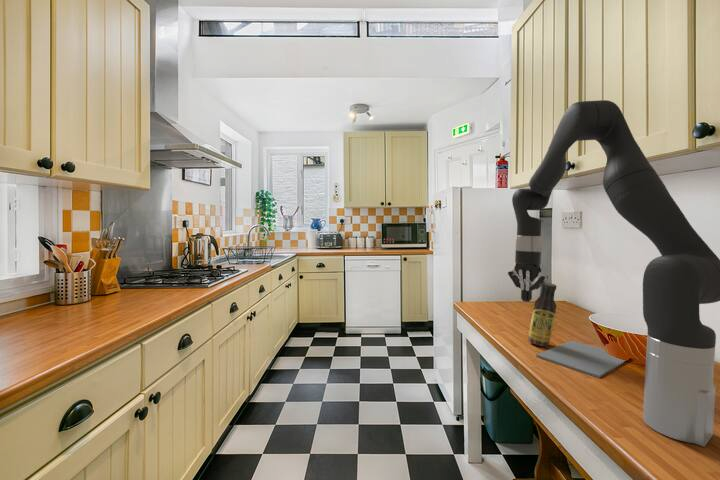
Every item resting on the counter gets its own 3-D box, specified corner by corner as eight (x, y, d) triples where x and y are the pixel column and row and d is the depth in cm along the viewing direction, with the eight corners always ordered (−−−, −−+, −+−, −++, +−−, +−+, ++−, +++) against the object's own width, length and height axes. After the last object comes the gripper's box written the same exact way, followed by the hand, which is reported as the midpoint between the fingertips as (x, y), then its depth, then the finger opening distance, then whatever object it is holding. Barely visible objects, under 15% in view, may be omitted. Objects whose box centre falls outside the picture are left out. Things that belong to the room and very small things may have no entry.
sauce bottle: (527, 344, 107) (535, 283, 104) (528, 337, 112) (536, 279, 110) (550, 349, 104) (560, 287, 101) (550, 342, 109) (559, 283, 107)
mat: (631, 358, 97) (631, 356, 97) (598, 377, 84) (599, 375, 84) (571, 342, 110) (571, 340, 110) (536, 356, 98) (536, 354, 98)
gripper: (503, 248, 114) (501, 298, 114) (542, 251, 103) (540, 307, 104) (515, 247, 118) (513, 296, 119) (554, 250, 107) (552, 304, 108)
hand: (526, 301), depth 111 cm, fingers closed
